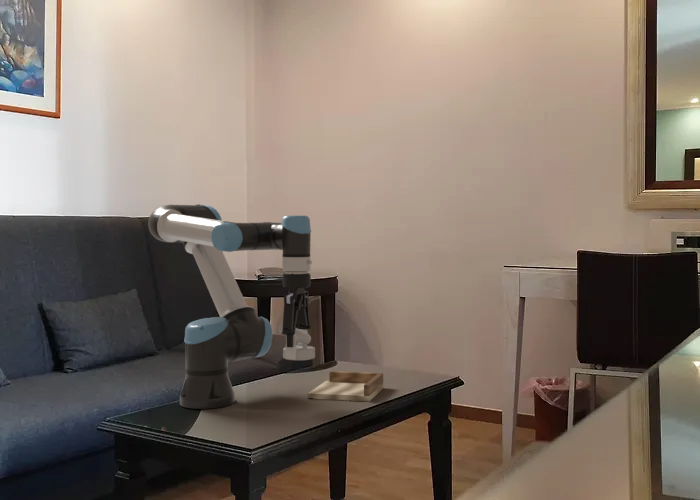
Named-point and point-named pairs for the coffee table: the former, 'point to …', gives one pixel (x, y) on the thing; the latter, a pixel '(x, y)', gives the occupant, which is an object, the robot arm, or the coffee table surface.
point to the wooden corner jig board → (349, 386)
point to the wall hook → (301, 350)
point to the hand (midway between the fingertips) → (296, 355)
